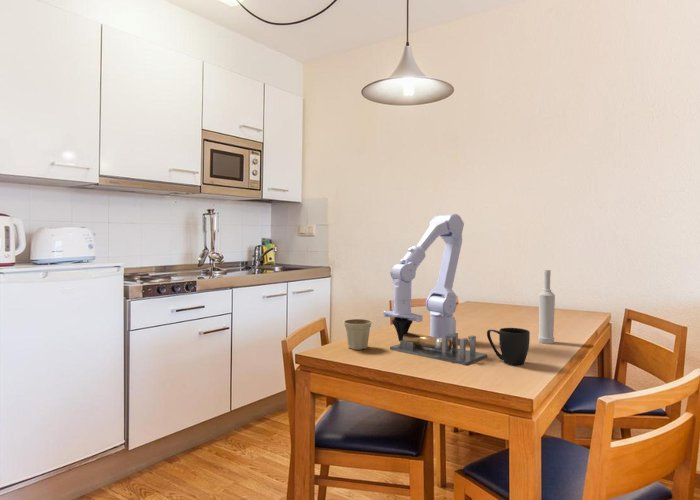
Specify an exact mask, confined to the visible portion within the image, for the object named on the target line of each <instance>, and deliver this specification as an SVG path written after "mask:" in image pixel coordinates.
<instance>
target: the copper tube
mask: <svg viewBox="0 0 700 500" xmlns="http://www.w3.org/2000/svg"><path fill="white" fill-rule="evenodd" d="M403 340H405V341H411V342H415V345H417V346H422V347H428V348H433V349H437V350H442V338H437V337H432V336H430V335H426V334H425V335H424V334H421V333H420V334H418V333H414V332H409V331H408V332H405V333H404V335H403ZM451 348H452V341H451V340H449V339H448V349H447V351H450V350H451Z"/></svg>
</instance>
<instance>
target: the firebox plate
mask: <svg viewBox="0 0 700 500" xmlns="http://www.w3.org/2000/svg"><path fill="white" fill-rule="evenodd" d="M389 349H390V350H392V351H396V352H400V353H401V352H402V353H406V354H409V355H410V354H411V355H415V356H419V357H426V358H430V359H435V360H440V361H444V362H448V363H453V364H459V365H463V366H469V365H470V364H472V363H475V362H478V361H480V360H482V359H485V358H487V357H488V353H482V352H478V351H476V354H475V355H470V350H466V358H465V359H461V358H460V348H458V351H456V352H455V351H452V348H451V350H450V351H447V355H442V350H437V349H433V348H428V347H422V346H417V345H415V342H411V341H405V340H400V341H399V344H395V345H391V346H390V347H389Z"/></svg>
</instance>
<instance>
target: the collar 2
mask: <svg viewBox="0 0 700 500" xmlns="http://www.w3.org/2000/svg"><path fill="white" fill-rule="evenodd" d="M476 339H477V338H476V335H469V336H468V337H467V338H466V337H463V338H460V339H459V349H460V358H461V359H465V358H466V345H467V344H466V343H467V342H468V341H469V351H470V355H475V354H476V352H477V351H476V349H477V347H476V344H477V340H476Z"/></svg>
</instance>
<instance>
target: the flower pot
mask: <svg viewBox="0 0 700 500" xmlns="http://www.w3.org/2000/svg"><path fill="white" fill-rule="evenodd" d="M342 323H343V324H344V327H345V331H346V332H345V333H346V338H347V339H346V340H347V346H348V348H349V349H351V350H354V351H355V350H358V351H359V350H360V351H361V350H363V349H365V350H366V349H367V348H368V346H369V338H370V337H369V336H370V331H371V330H370V329H371V327H372V324H373V321H372V320H370V319H368V318H367V319H365V318H364V319H363V318H352V319H346V320H343V322H342Z"/></svg>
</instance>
